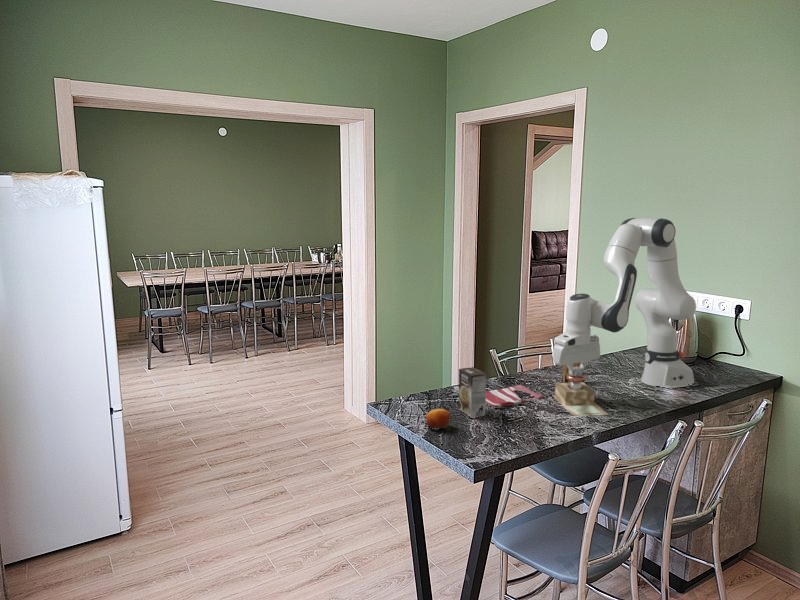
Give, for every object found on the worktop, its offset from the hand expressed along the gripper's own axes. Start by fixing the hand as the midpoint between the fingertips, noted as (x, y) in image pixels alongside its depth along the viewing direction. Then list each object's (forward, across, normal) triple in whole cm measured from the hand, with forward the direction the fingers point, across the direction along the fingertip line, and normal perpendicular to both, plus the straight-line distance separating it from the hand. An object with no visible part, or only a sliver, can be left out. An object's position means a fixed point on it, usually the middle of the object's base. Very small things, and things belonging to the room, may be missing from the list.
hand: (576, 373), depth 224 cm
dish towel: (+12, +20, -16) cm, 28 cm away
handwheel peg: (+10, 0, 0) cm, 10 cm away
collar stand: (+12, +2, +4) cm, 12 cm away
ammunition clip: (+12, -14, -16) cm, 24 cm away
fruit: (+12, +59, -2) cm, 60 cm away
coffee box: (+12, +41, -8) cm, 44 cm away
